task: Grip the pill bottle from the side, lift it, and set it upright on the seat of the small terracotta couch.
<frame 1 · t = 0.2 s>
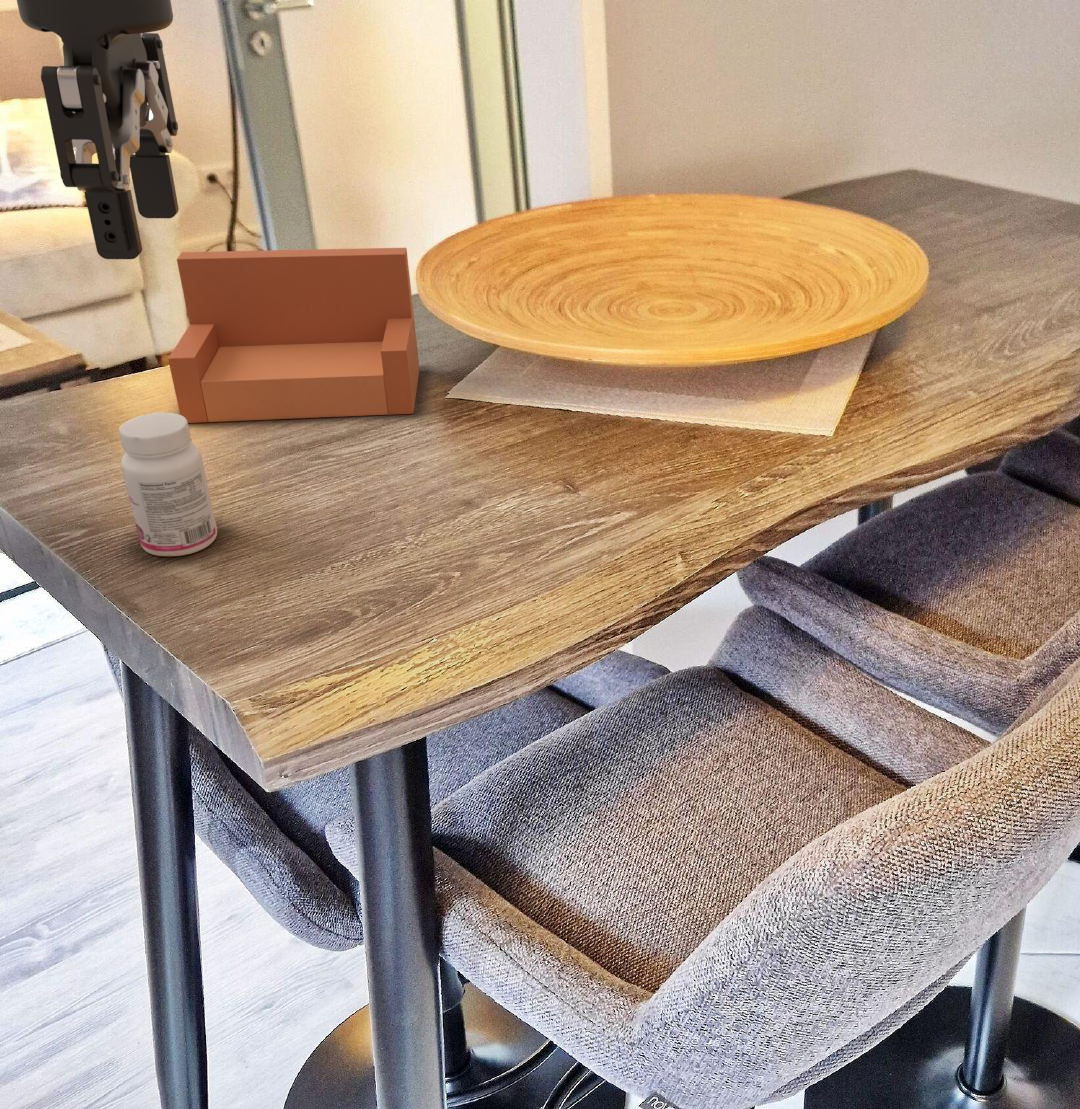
hand: (141, 236, 73), 20 cm above the table, tool pointing down, fingers open, 8 cm apart
couch: (307, 395, 104), on the table
pill bottle: (180, 543, 81), on the table
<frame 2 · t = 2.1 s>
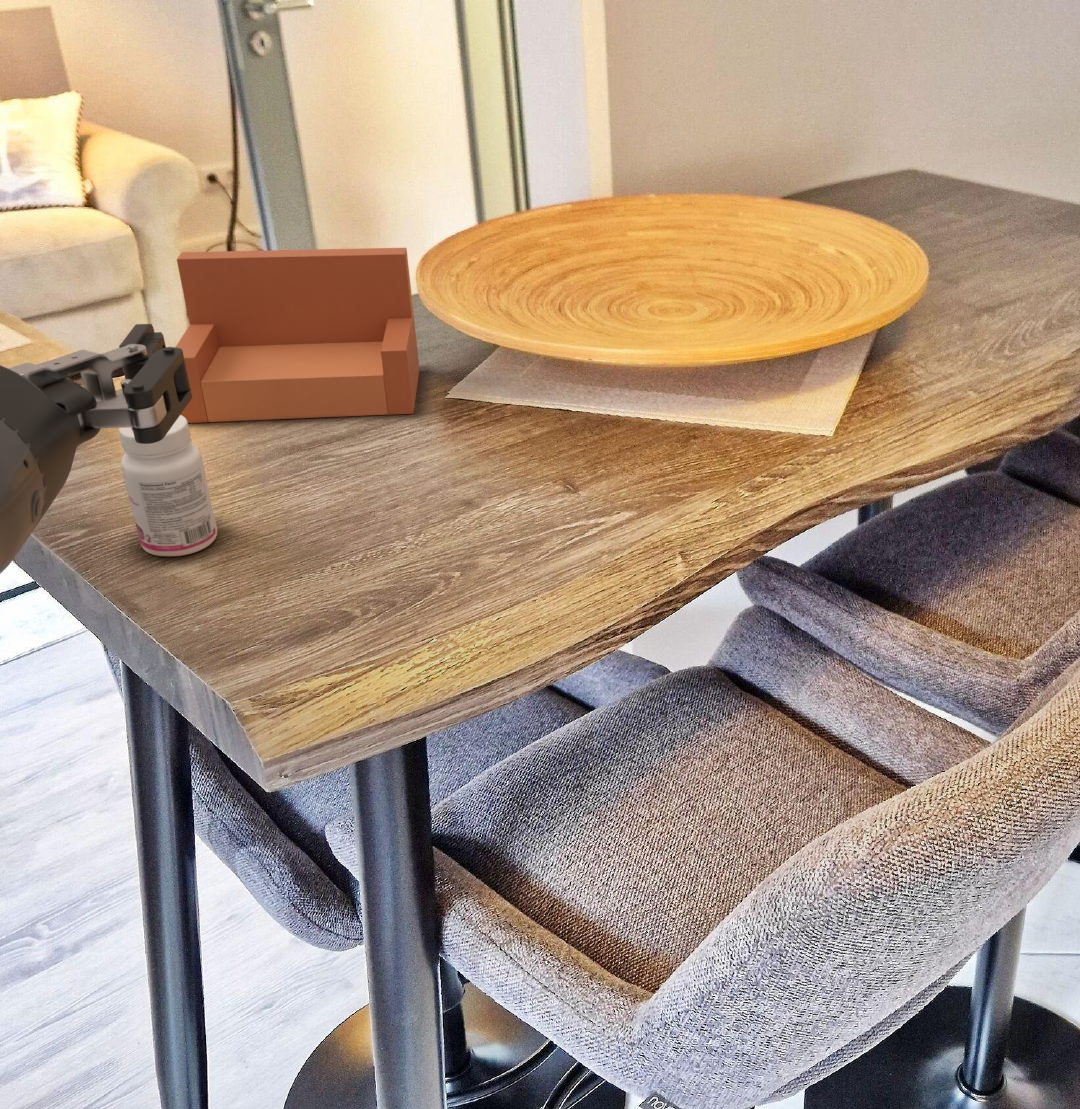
hand: (59, 345, 62), 18 cm above the table, tool horizontal, fingers open, 8 cm apart
nothing on the table moved.
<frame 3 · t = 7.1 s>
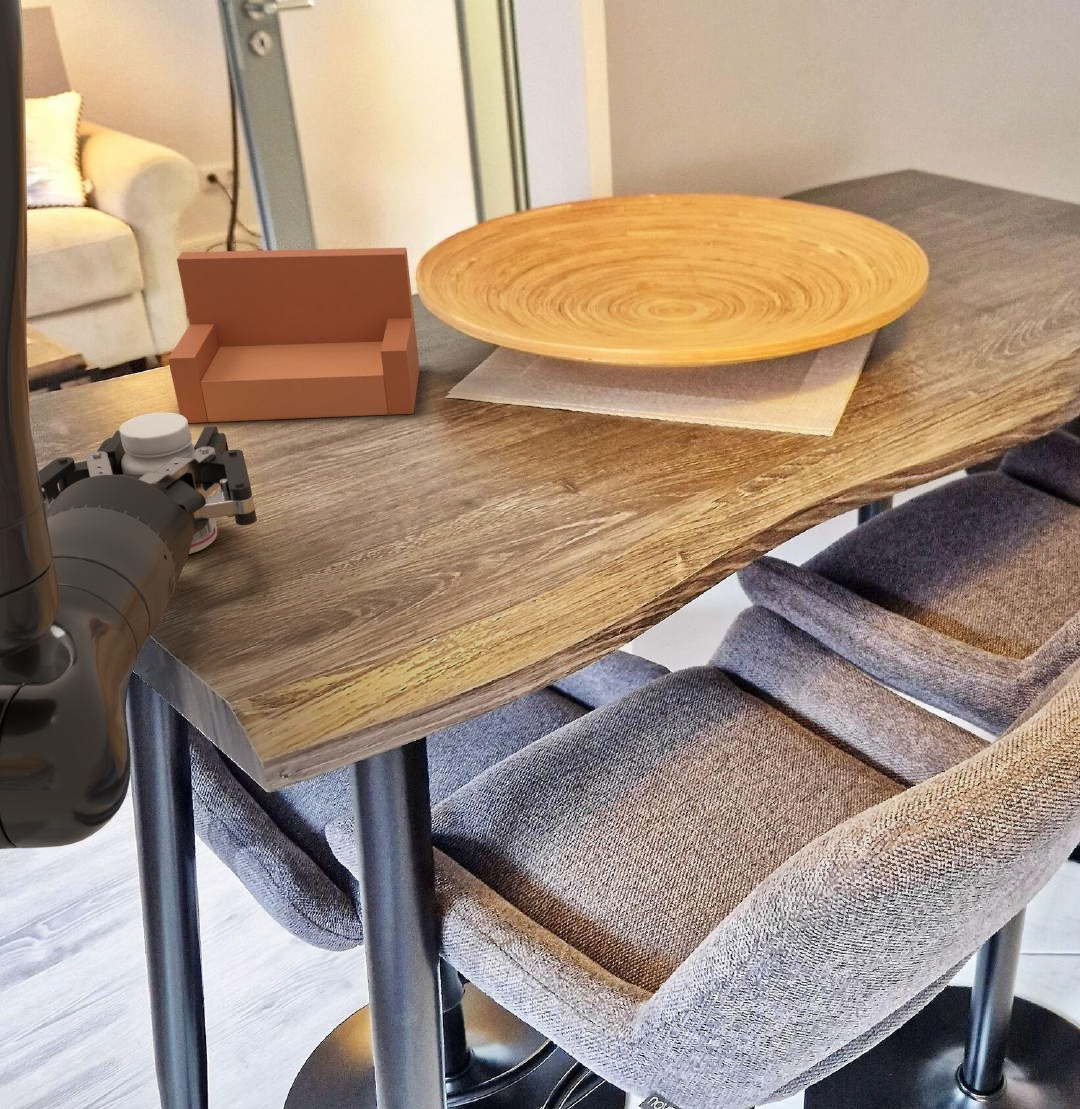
hand: (170, 442, 81), 6 cm above the table, tool horizontal, fingers closed on pill bottle, 4 cm apart
pill bottle: (180, 543, 81), on the table, touching gripper
when the fingers open (10 cm above the table, at t = 15.1 s): pill bottle stays where it is, resting on couch.
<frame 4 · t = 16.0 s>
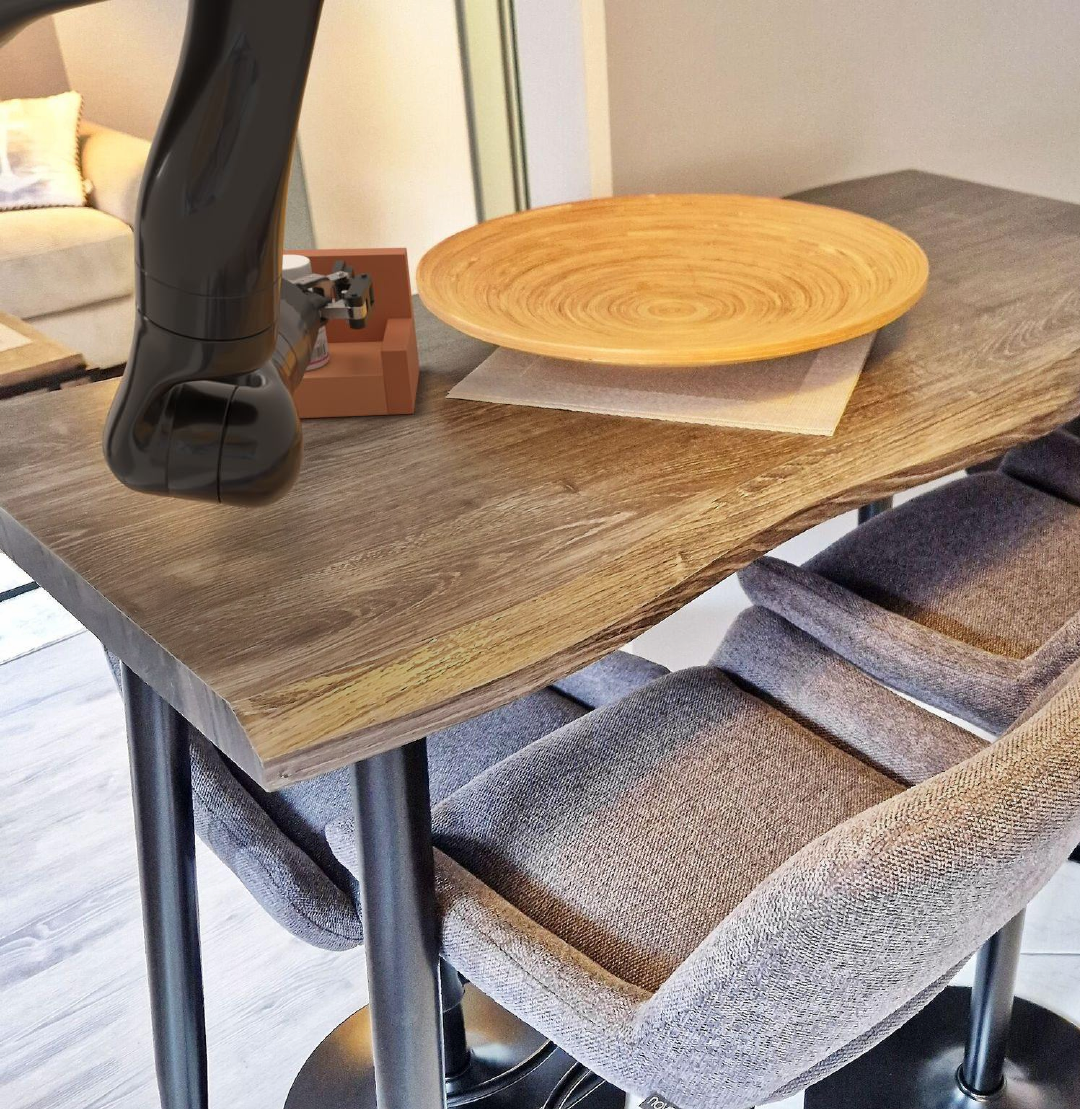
hand: (287, 273, 98), 10 cm above the table, tool horizontal, fingers open, 8 cm apart
pill bottle: (300, 365, 101), point 3 cm above the table, touching couch
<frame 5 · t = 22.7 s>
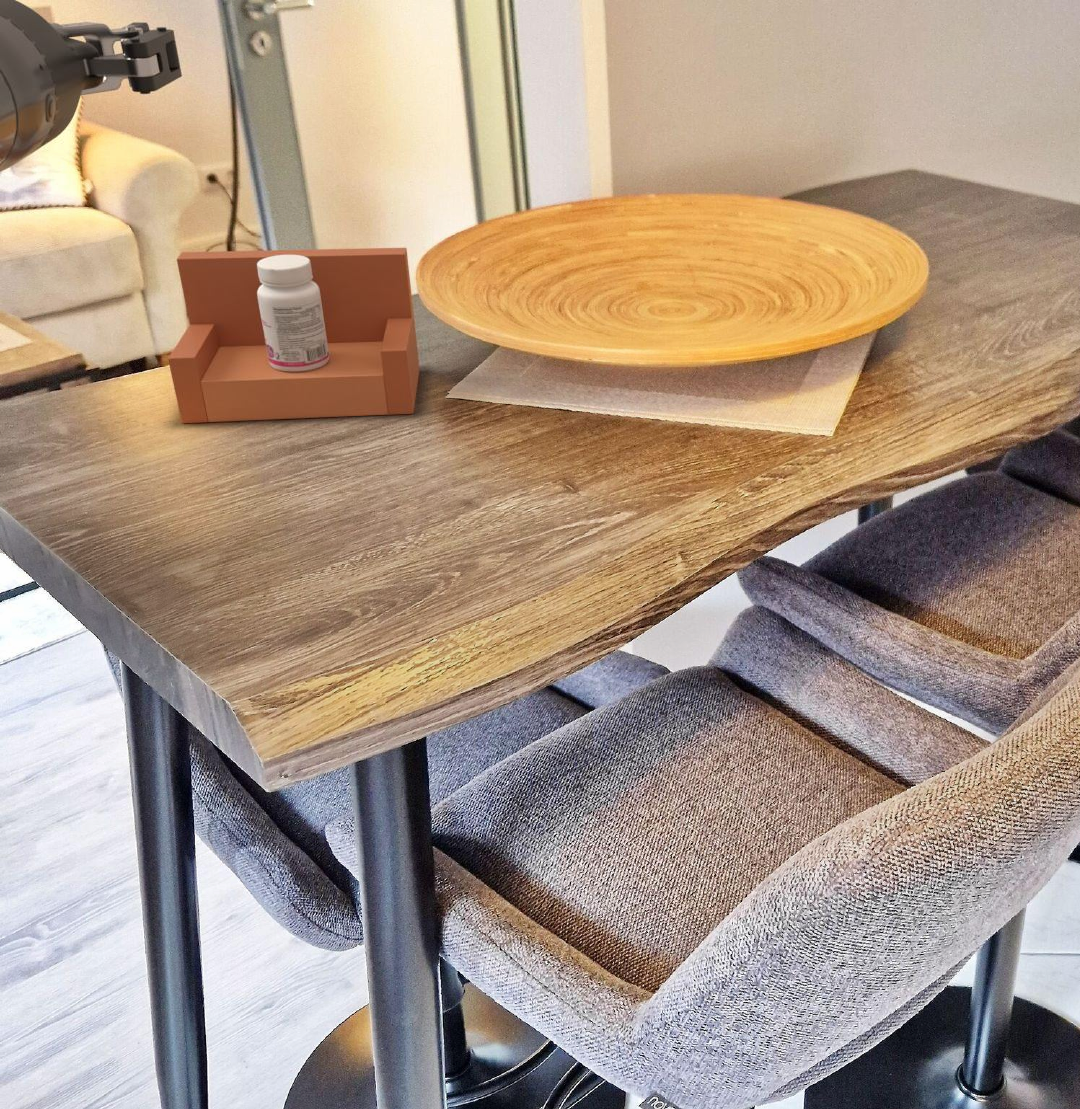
hand: (68, 41, 72), 30 cm above the table, tool horizontal, fingers open, 8 cm apart
nothing on the table moved.
at the end: pill bottle inside the target area on the couch (0.4 cm from its centre), point 3.3 cm above the couch's base; pill bottle tilted 0°; the gripper is holding nothing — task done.
